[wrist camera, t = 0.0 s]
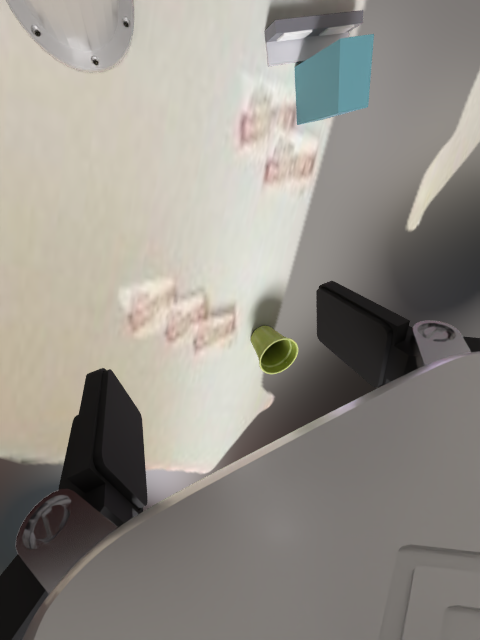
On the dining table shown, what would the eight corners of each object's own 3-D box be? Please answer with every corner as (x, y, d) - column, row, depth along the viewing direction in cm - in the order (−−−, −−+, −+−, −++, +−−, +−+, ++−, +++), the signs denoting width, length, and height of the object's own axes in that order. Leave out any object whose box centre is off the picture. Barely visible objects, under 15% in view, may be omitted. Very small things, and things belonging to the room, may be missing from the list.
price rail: (264, 30, 34) (275, 19, 32) (348, 20, 37) (363, 10, 35) (267, 66, 36) (277, 59, 34) (346, 54, 39) (361, 46, 37)
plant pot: (283, 339, 64) (302, 359, 57) (251, 358, 63) (267, 381, 56) (272, 312, 59) (292, 330, 52) (238, 332, 58) (253, 354, 51)
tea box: (297, 125, 42) (338, 113, 34) (294, 67, 38) (340, 38, 30) (323, 119, 43) (368, 106, 35) (323, 62, 39) (374, 33, 31)
